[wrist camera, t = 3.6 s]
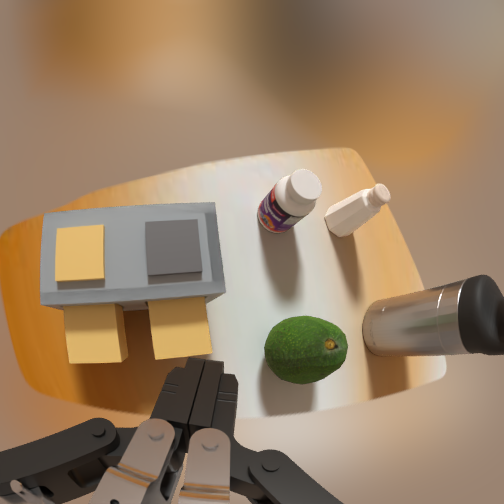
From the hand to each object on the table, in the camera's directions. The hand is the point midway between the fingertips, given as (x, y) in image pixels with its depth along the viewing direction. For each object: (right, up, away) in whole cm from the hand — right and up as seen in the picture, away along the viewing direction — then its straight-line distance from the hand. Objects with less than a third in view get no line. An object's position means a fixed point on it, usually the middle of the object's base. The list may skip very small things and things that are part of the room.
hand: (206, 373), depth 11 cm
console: (-12, +2, +20) cm, 23 cm away
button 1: (-13, -2, +13) cm, 19 cm away
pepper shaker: (+16, +10, +31) cm, 36 cm away
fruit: (+6, -7, +23) cm, 25 cm away
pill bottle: (+5, +10, +28) cm, 30 cm away
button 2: (-6, -1, +16) cm, 17 cm away
